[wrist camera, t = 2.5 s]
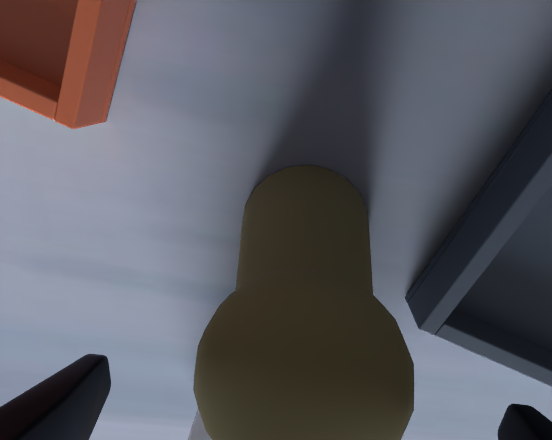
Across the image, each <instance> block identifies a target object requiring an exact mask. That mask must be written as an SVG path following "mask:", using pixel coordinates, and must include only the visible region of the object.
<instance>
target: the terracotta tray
mask: <svg viewBox="0 0 552 440" xmlns="http://www.w3.org/2000/svg"><path fill="white" fill-rule="evenodd" d="M135 3H136V0H0V97H2V98H5V99H7V100H9V101H11V102H14V103H16V104H18V105H20V106H23V107H25V108H27V109H29V110H32V111H34V112H36V113H38V114H41V115H43V116H45V117H47V118H50V119H52V120H55V121H56V122H58V123H60V124H62V125H65V126H67V127H69V128H71V129H76V128H81V127H85V126H89V125H93V124H98V123H102V122H106V119H107V115H108V111H109V107H110V103H111V99H112V95H113V91H114V87H115V83H116V79H117V75H118V71H119V67H120V63H121V59H122V55H123V51H124V47H125V43H126V39H127V35H128V31H129V27H130V23H131V19H132V15H133V11H134V7H135Z"/></svg>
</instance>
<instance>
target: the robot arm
mask: <svg viewBox="0 0 552 440" xmlns="http://www.w3.org/2000/svg"><path fill="white" fill-rule="evenodd" d="M110 387H111V378H110V371H109V363H108V358H107V357H106V356H104V355H97V354H87V355H85V356H83V357H82V358H80V359H78V360H77V361H75V362H74V363H72V364H70V365H69V366H67V367H65V368H64V369H62V370H60V371H59V372H57V373H55V374H54V375H52V376H51V377H49V378H47V379H46V380H44V381H42V382H41V383H39V384H37V385H36V386H34V387H32V388H31V389H29V390H28V391H26V392H24V393H23V394H21V395H19V396H18V397H16V398H14V399H13V400H11V401H9V402H8V403H6V404H5V405H3V406H1V407H0V440H89V438H90V436H91V433H92V431H93V429H94V426H95V424H96V422H97V420H98V417H99V415H100V413H101V410H102V408H103V406H104V403H105V401H106V399H107V396H108V394H109V391H110ZM498 440H552V422H551V421H550V420H549V419H547V418H546V417H545V416H544V415H542V414H541V413H540V412H539V411H537V410H536V409H535V408H533V407H531V406H528V405H520V404H511V405H509V406H508V408H507V410H506V412H505V414H504V417H503V419H502V422H501V424H500V426H499V429H498Z"/></svg>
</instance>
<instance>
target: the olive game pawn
mask: <svg viewBox="0 0 552 440" xmlns="http://www.w3.org/2000/svg"><path fill="white" fill-rule="evenodd" d="M193 390H194V394H195V398H196V401H197V405H198V409H199V413H200V416H201V419H202V422H203V425H204V427H205V430H206V432H207V434H208V435H209V436H210V438H211V439H212V440H401V438H402V436H403V433H404V431H405V429H406V427H407V425H408V422H409V420H410V417H411V415H412V413H413V410H414V363H413V361H412V358H411V356H410V353H409V351H408V348H407V345H406V343H405V341H404V338H403V336H402V334H401V331H400V329H399V326H398V324H397V322H396V319H395V318H394V317H393V316H392V315H391V314H390V313H389V311H388V310H387V309H386V308H385V307H384V306H383V305H382V304H381V303H380V302H379V301H378V300H377V299H376V297H375V296H374V295H373V286H372V270H371V254H370V238H369V222H368V211H367V209H366V206H365V204H364V201H363V199H362V196H361V194H360V193H359V192H358V191H357V190H356V188H355V187H354V186H353V185H352V184H351V183H350V182H349V181H348V179H346V178H344V177H342V176H341V175H339V174H337V173H335V172H334V171H332V170H330V169H327V168H322V167H317V166H312V165H302V166H293V167H287V168H285V169H282V170H280V171H278V172H275V173H273V174H271V175H269V176H268V177H267V178H266V179H264V180H263V181H262V182H261V183H260V184H259V185H258V186H257V187H256V188H254V190H253V192H252V194H251V196H250V197H249V199H248V201H247V203H246V205H245V210H244V215H243V221H242V230H241V240H240V251H239V261H238V271H237V282H236V291H234V292H233V293H232V294H230V295H229V296H228V297H227V298H226V299H225V300H224V301H223V303H222V304H221V305H220V306H219V307H218V309H217V310H216V312H215V314H214V315H213V317H212V319H211V320H210V322H209V324H208V325H207V327H206V329H205V331H204V333H203V336H202V338H201V340H200V343H199V345H198V351H197V358H196V365H195V373H194V389H193Z"/></svg>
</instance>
